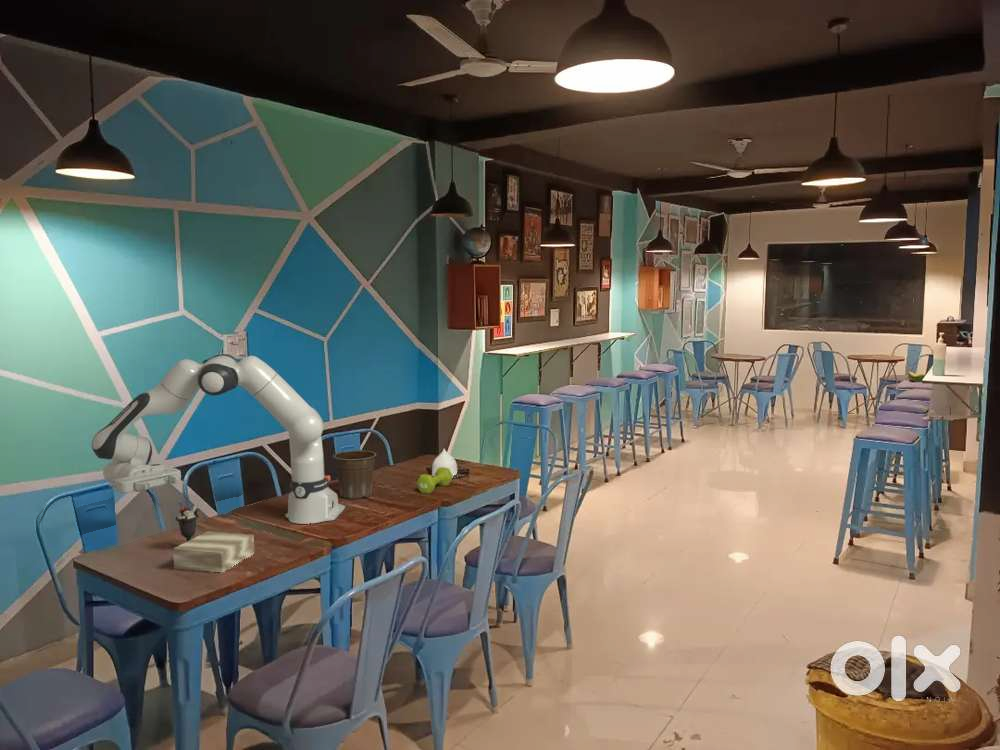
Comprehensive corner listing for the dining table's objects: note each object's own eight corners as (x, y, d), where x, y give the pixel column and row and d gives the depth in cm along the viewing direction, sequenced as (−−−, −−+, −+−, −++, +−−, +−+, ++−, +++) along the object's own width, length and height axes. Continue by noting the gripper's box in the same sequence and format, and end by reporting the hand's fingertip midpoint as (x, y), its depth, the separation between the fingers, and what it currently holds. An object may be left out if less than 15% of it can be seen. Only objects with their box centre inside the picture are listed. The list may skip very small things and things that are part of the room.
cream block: (208, 550, 232) (207, 531, 231) (254, 553, 228) (253, 534, 227) (174, 568, 217) (172, 548, 216) (222, 573, 213) (221, 552, 212)
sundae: (173, 552, 231) (170, 504, 229) (185, 544, 238) (182, 498, 236) (193, 552, 230) (190, 505, 228) (204, 545, 237) (201, 498, 235)
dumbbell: (432, 495, 290) (431, 477, 290) (415, 492, 294) (414, 474, 293) (454, 485, 305) (454, 467, 304) (438, 483, 309) (437, 465, 308)
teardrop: (439, 471, 328) (438, 444, 326) (462, 473, 323) (461, 446, 322) (427, 477, 318) (426, 449, 316) (450, 479, 313) (450, 451, 312)
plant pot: (378, 488, 301) (377, 449, 299) (376, 499, 285) (375, 458, 283) (337, 490, 299) (335, 451, 297) (333, 502, 283) (331, 460, 281)
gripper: (105, 474, 237) (129, 480, 229) (166, 462, 254) (190, 468, 246) (107, 494, 238) (130, 501, 230) (167, 481, 255) (191, 486, 247)
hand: (162, 483), depth 238 cm, fingers open, 8 cm apart
